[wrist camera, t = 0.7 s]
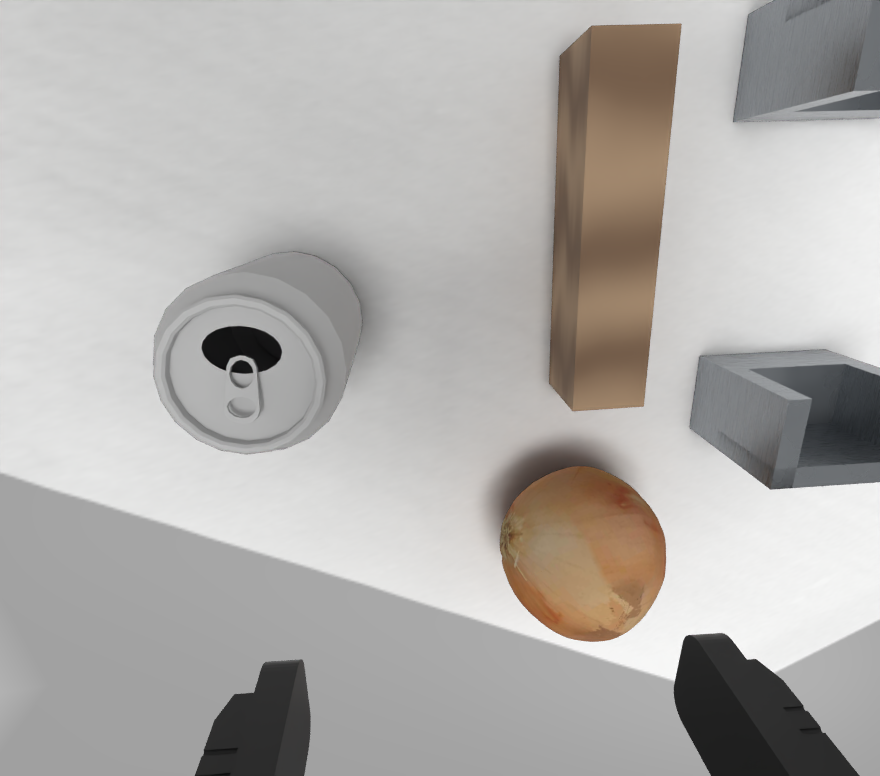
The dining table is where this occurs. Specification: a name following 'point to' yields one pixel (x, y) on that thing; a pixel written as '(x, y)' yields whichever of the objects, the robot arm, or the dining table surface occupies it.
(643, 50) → the rail
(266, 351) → the can
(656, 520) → the onion
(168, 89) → the dining table surface
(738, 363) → the cup brackets
